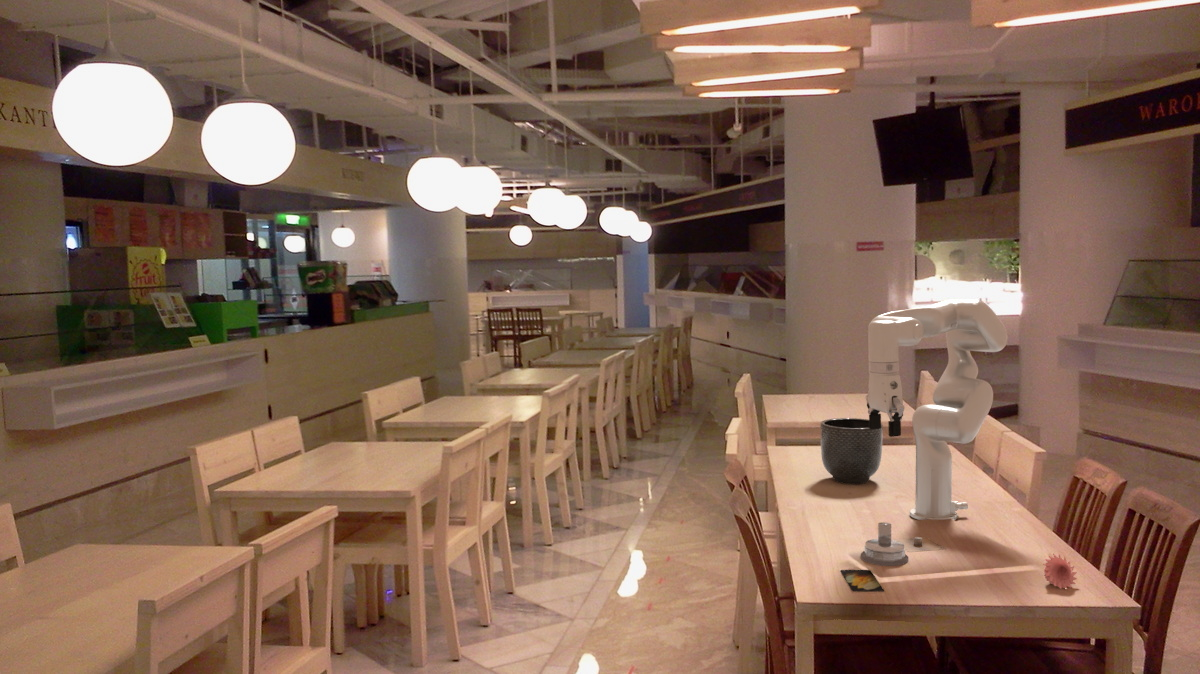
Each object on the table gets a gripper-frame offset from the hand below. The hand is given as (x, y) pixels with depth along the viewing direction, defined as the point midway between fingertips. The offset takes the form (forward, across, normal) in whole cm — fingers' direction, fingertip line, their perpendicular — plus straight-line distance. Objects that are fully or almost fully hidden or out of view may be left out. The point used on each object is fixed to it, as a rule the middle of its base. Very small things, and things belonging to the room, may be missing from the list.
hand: (884, 432), depth 246 cm
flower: (+27, -46, -16) cm, 56 cm away
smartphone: (+27, -31, +24) cm, 48 cm away
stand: (+27, -14, -1) cm, 30 cm away
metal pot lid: (+26, -21, +13) cm, 36 cm away
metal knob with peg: (+25, -21, +12) cm, 35 cm away
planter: (+29, +55, -19) cm, 65 cm away
